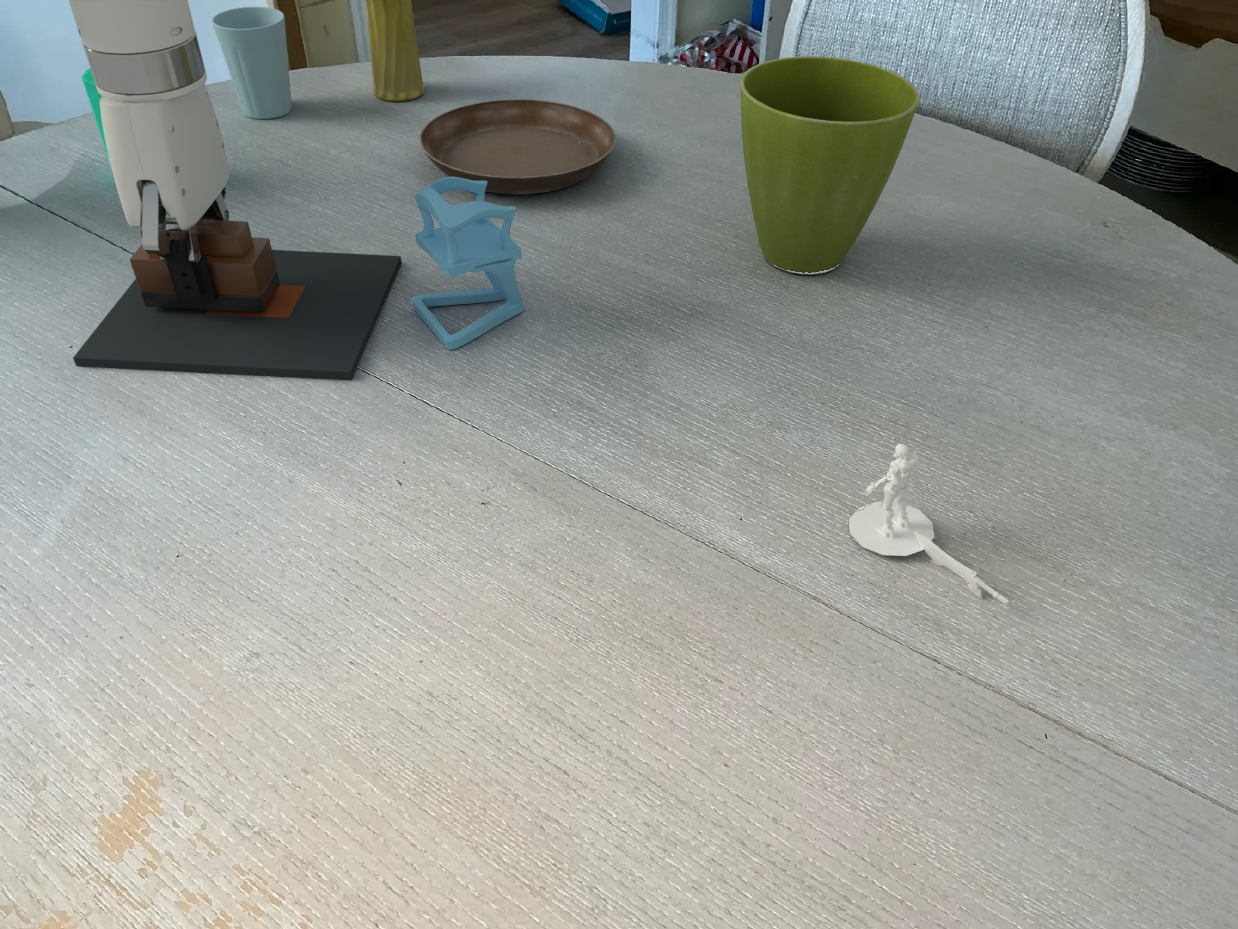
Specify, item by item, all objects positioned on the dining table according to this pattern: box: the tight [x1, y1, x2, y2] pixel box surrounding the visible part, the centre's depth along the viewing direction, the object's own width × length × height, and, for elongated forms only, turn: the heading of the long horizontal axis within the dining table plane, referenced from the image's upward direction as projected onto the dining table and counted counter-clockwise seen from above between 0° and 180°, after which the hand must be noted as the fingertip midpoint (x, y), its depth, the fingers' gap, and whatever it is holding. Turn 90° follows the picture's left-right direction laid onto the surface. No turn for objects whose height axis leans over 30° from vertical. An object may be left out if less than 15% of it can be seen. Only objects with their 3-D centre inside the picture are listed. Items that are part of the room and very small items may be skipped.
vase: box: [364, 0, 426, 103], centre depth 118 cm, size 6×6×14 cm
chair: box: [411, 176, 526, 351], centre depth 82 cm, size 8×8×12 cm
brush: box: [129, 217, 280, 312], centre depth 83 cm, size 10×4×6 cm, turn 87°
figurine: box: [848, 443, 1010, 607], centre depth 64 cm, size 6×12×8 cm, turn 38°
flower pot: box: [739, 55, 920, 273], centre depth 90 cm, size 15×15×16 cm
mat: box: [72, 249, 402, 381], centre depth 86 cm, size 22×18×1 cm
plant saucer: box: [418, 98, 617, 195], centre depth 108 cm, size 21×21×3 cm
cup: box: [211, 6, 293, 120], centre depth 115 cm, size 8×8×10 cm
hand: (209, 281), depth 84 cm, fingers closed on brush, 4 cm apart
